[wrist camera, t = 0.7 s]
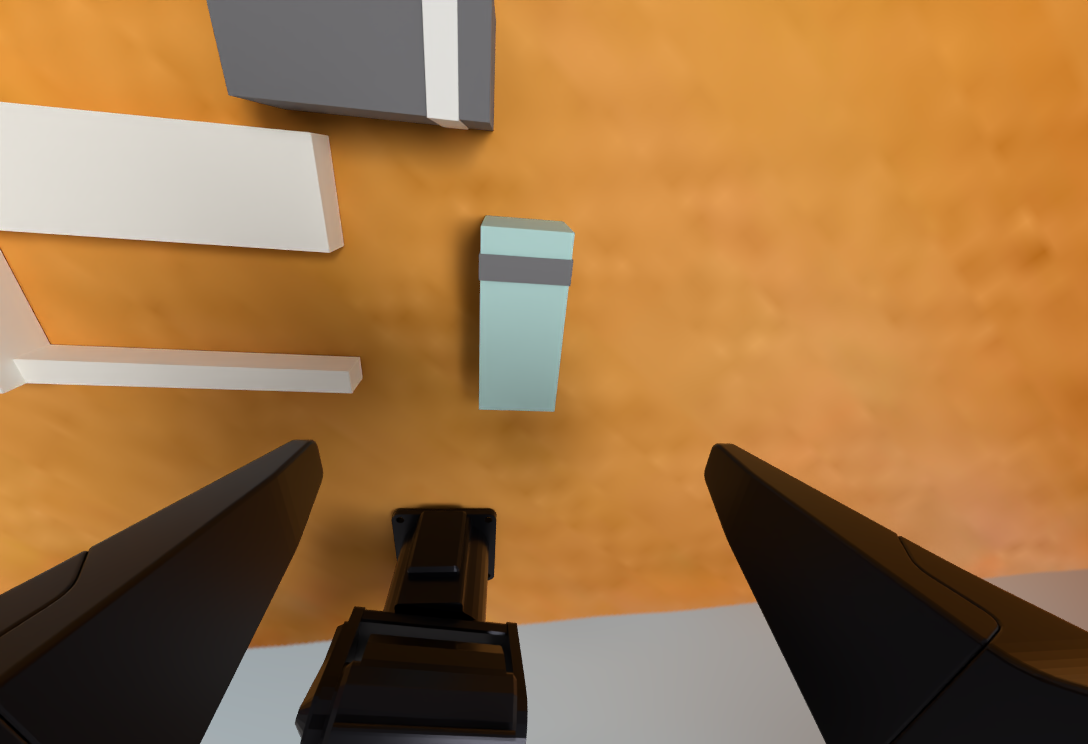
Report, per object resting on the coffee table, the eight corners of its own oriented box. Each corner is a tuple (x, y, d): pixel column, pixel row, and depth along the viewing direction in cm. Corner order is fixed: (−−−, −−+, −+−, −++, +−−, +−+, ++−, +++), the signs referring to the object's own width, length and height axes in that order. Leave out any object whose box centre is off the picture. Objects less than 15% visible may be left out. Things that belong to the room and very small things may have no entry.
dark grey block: (493, 132, 16) (489, 124, 13) (285, 111, 15) (226, 96, 12) (495, 18, 14) (491, -23, 11) (263, -13, 14) (188, -68, 10)
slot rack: (362, 377, 21) (340, 410, 18) (29, 365, 19) (-52, 399, 16) (297, -85, 13) (240, -153, 10) (-278, -173, 11) (-532, -283, 8)
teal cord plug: (564, 221, 18) (576, 233, 15) (548, 376, 22) (555, 412, 18) (484, 215, 18) (479, 225, 14) (482, 374, 21) (477, 410, 18)
